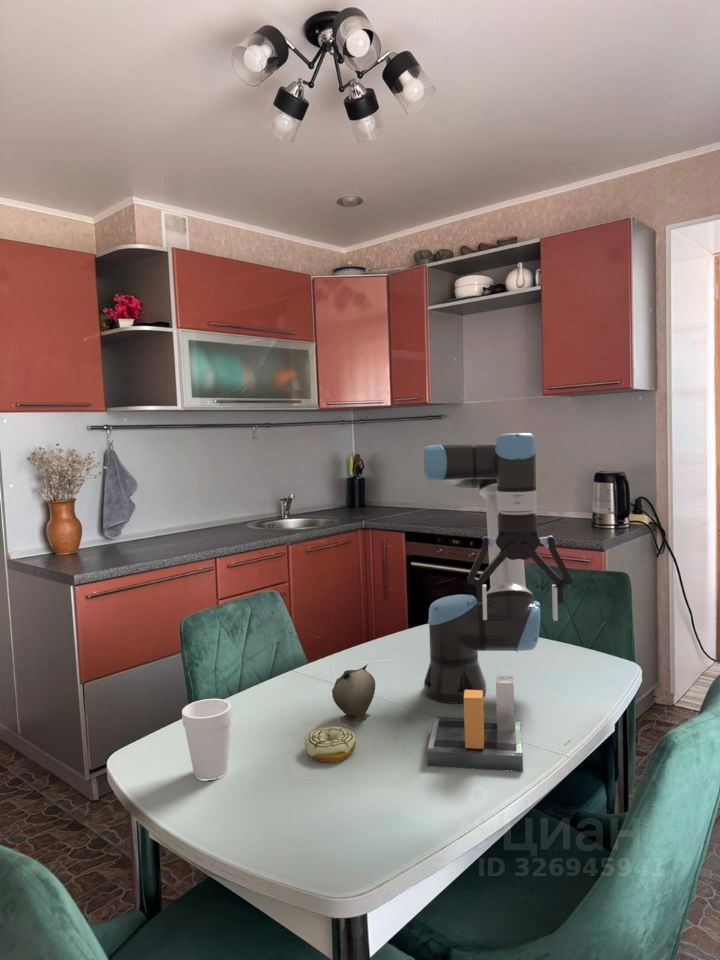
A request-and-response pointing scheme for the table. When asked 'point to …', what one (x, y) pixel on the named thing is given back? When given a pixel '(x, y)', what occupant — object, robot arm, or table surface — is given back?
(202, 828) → the table surface
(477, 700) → the handle
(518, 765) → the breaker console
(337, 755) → the decorated donut
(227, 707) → the foam cup
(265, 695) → the table surface
